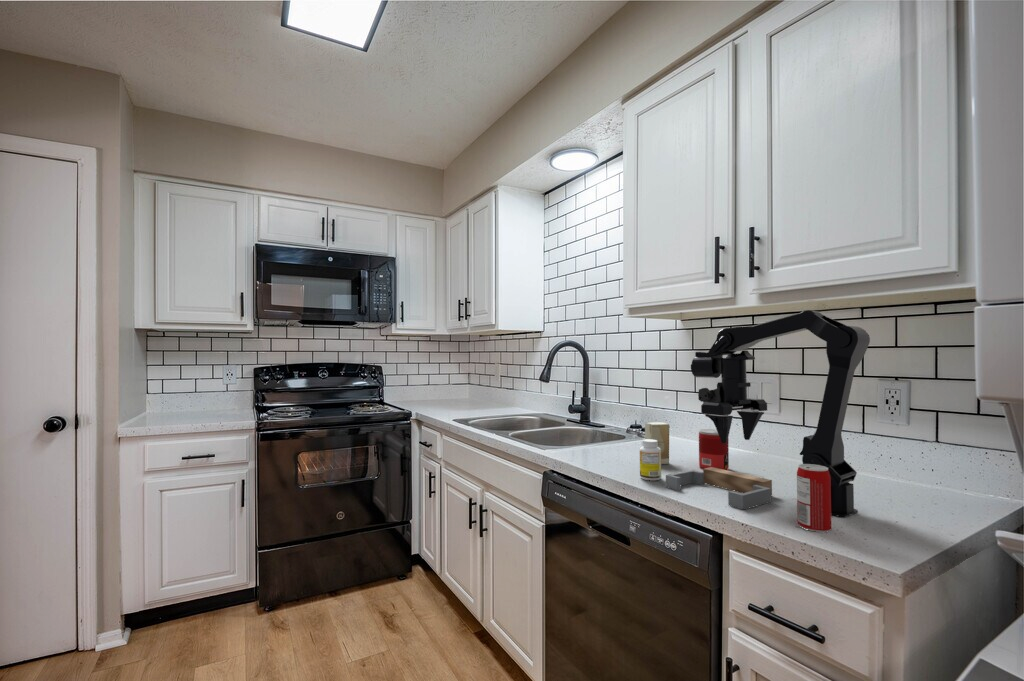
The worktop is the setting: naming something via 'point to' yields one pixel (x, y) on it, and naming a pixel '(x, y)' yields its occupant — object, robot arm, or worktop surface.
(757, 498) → the end cap
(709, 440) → the canned food
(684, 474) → the end cap
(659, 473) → the supplement bottle
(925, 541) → the worktop surface
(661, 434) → the skincare box
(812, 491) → the soda can
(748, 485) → the slat
